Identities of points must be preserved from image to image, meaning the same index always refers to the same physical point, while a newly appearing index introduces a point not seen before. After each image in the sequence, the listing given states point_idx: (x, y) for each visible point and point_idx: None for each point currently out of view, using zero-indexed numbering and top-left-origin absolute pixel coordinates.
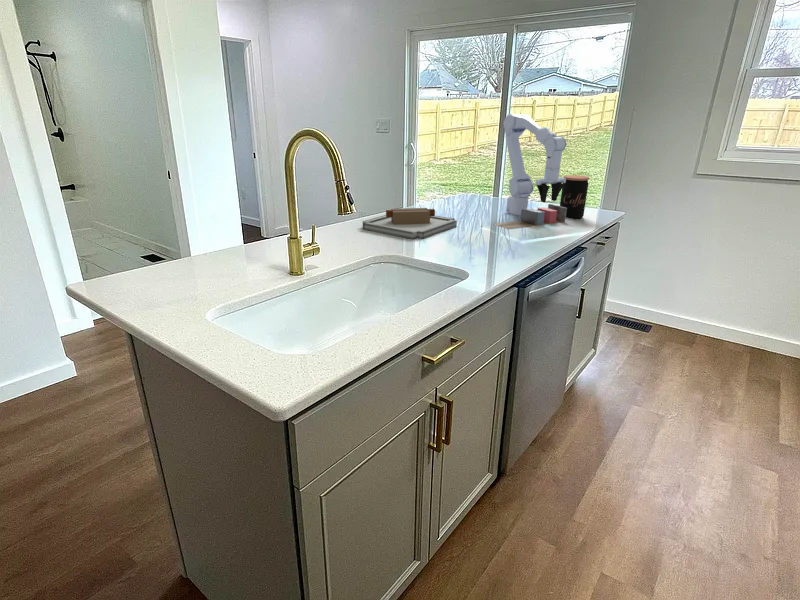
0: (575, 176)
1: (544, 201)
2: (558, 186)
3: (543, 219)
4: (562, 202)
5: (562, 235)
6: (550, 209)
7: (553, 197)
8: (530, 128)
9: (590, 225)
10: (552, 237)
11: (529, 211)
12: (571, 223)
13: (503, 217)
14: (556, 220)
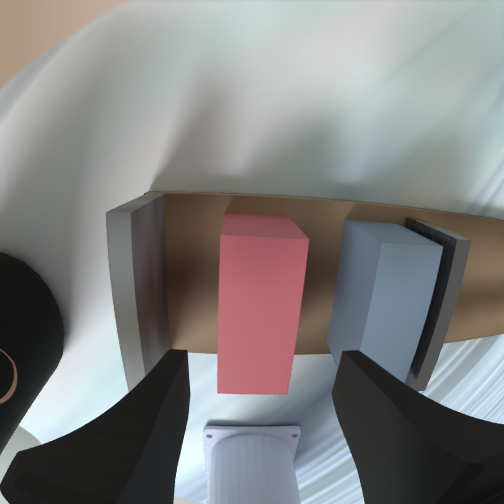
0: None
1: (360, 352)
2: (136, 501)
3: (359, 227)
4: (25, 388)
5: (391, 9)
6: (237, 309)
7: (183, 400)
8: None
9: (37, 103)
10: (455, 27)
11: (448, 313)
12: (92, 193)
13: (340, 445)
14: (169, 259)
